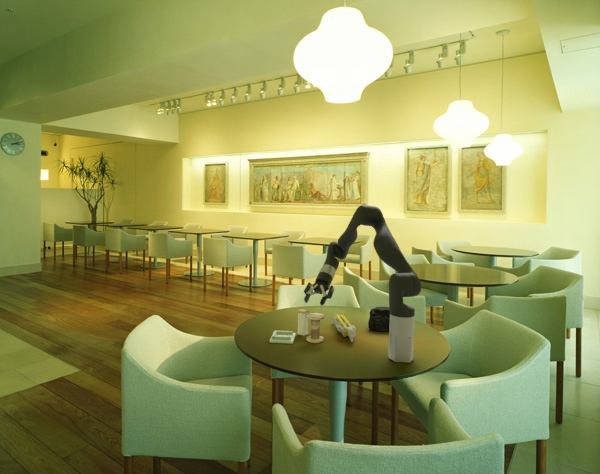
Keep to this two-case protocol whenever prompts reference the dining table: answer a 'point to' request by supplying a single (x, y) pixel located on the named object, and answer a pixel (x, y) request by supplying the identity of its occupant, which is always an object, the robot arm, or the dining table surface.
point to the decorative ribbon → (344, 327)
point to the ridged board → (283, 337)
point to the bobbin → (315, 328)
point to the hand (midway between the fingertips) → (313, 303)
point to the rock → (379, 319)
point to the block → (302, 322)
